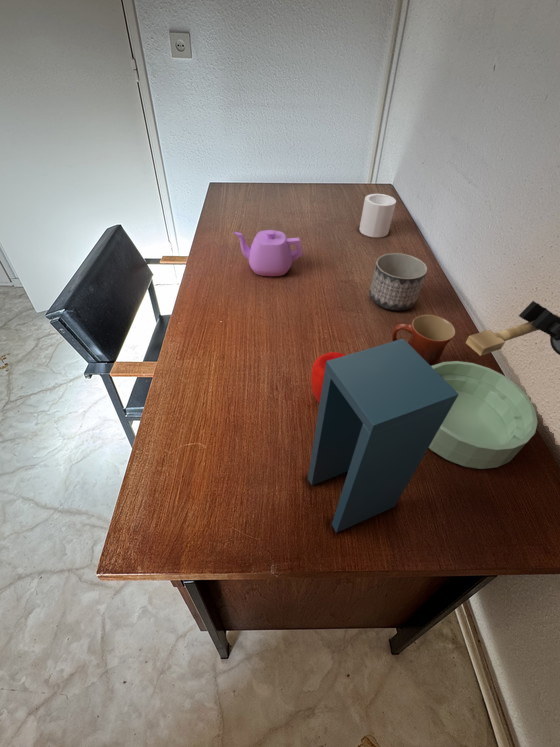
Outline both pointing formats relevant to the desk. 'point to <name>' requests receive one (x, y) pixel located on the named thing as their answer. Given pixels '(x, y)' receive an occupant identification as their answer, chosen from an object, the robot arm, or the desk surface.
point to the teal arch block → (376, 426)
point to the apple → (321, 372)
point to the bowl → (483, 417)
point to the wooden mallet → (497, 338)
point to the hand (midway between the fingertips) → (534, 314)
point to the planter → (397, 281)
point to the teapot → (270, 252)
